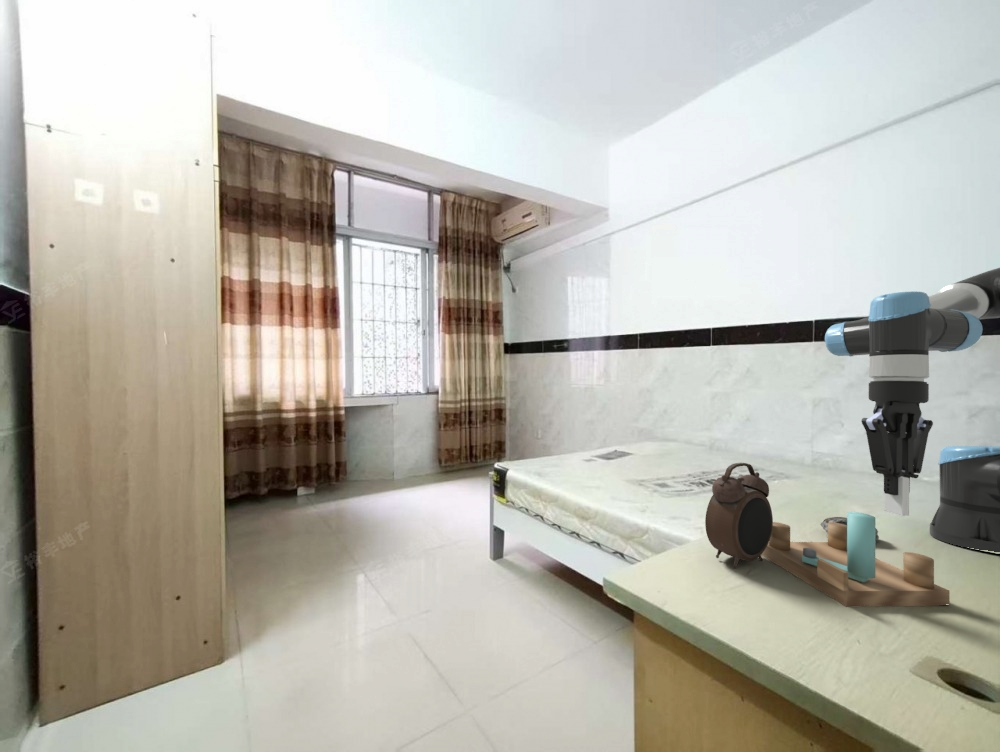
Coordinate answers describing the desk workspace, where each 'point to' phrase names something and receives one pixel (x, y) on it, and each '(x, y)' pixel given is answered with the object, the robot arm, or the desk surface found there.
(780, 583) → the desk surface
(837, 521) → the fossilized seashell
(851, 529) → the hinged leg
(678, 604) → the desk surface
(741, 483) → the alarm clock
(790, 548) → the stool seat
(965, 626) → the desk surface
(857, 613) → the desk surface
